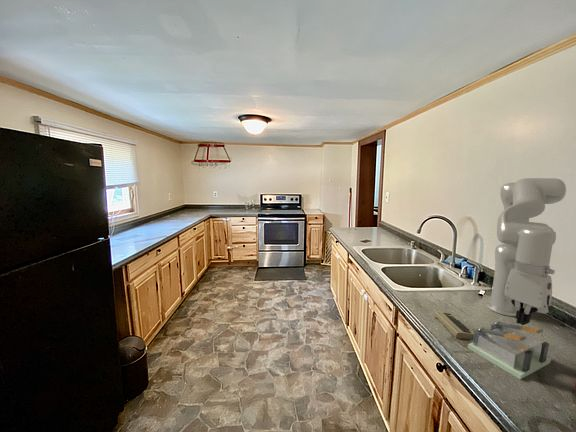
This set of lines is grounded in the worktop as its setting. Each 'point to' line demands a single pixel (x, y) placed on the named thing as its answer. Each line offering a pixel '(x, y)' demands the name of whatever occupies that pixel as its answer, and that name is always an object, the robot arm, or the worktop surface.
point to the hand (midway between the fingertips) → (522, 323)
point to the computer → (454, 325)
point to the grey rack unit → (511, 347)
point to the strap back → (519, 327)
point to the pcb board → (515, 372)
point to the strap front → (502, 334)
